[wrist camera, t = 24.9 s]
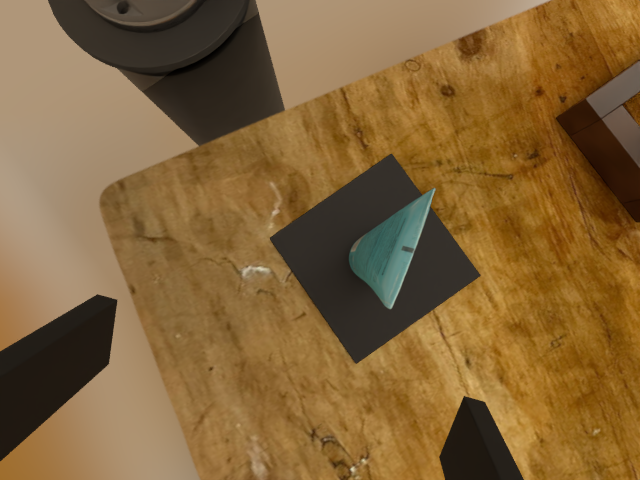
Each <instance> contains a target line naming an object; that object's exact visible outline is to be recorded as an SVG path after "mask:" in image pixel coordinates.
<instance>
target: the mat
mask: <svg viewBox="0 0 640 480" xmlns="http://www.w3.org/2000/svg"><path fill="white" fill-rule="evenodd" d="M421 196H422V194H421V193H420V192H419V190H418V189H417V188H416V186H415V185H414V183H413V182H412V181H411V179H410V178H409V177H408V175H407V174H406V172H405V171H404V170H403V168H402V167H401V166H400V164H399V163H398V161H397V160H396V159H395V157H394V156H393V155H392V154H390V155H389V156H387V157H386V158H384V159H383V160H381V161H380V162H378V163H377V164H376V165H374V166H373V167H371V168H370V169H368V170H367V171H365V172H364V173H363V174H361V175H360V176H358V177H357V178H355V179H354V180H353V181H351V182H350V183H348V184H347V185H345V186H344V187H342V188H341V189H340V190H338V191H337V192H335V193H334V194H332V195H331V196H329V197H328V198H327V199H325V200H324V201H322V202H321V203H319V204H318V205H316V206H315V207H314V208H312V209H311V210H309V211H308V212H306V213H305V214H304V215H302V216H301V217H299V218H298V219H296V220H295V221H293V222H292V223H291V224H289V225H288V226H286V227H285V228H283V229H282V230H280V231H279V232H278V233H276V234H275V235H273V236H272V237H270V240H271V241H272V243H273V244H274V245H275V247H276V248H277V250H278V251H279V253H280V254H281V256H282V257H283V259H284V260H285V261H286V263H287V264H288V266H289V267H290V269H291V270H292V272H293V273H294V275H295V276H296V277H297V279H298V280H299V282H300V283H301V285H302V286H303V288H304V289H305V291H306V292H307V293H308V295H309V296H310V298H311V299H312V301H313V302H314V304H315V305H316V306H317V308H318V309H319V311H320V312H321V314H322V315H323V317H324V318H325V320H326V321H327V322H328V324H329V325H330V327H331V328H332V330H333V331H334V333H335V334H336V336H337V337H338V338H339V340H340V341H341V343H342V344H343V346H344V347H345V349H346V350H347V352H348V353H349V354H350V356H351V357H352V359H353V360H354V362H355V363H356V364H357V363H358V362H359V361H361V360H362V359H364V358H365V357H366V356H368V355H369V354H371V353H372V352H374V351H375V350H376V349H378V348H379V347H381V346H382V345H383V344H385V343H386V342H388V341H389V340H390V339H392V338H393V337H395V336H396V335H398V334H399V333H400V332H402V331H403V330H405V329H406V328H407V327H409V326H410V325H412V324H413V323H414V322H416V321H417V320H419V319H420V318H422V317H423V316H424V315H426V314H427V313H429V312H430V311H431V310H433V309H434V308H436V307H437V306H438V305H440V304H441V303H443V302H444V301H446V300H447V299H448V298H450V297H451V296H453V295H454V294H455V293H457V292H458V291H460V290H461V289H462V288H464V287H465V286H467V285H468V284H470V283H471V282H472V281H474V280H475V279H477V278H478V277H479V276H480V274H479V273H478V271H477V270H476V268H475V267H474V266H473V264H472V263H471V262H470V260H469V259H468V257H467V256H466V255H465V253H464V252H463V251H462V249H461V248H460V247H459V245H458V244H457V242H456V241H455V240H454V238H453V237H452V236H451V234H450V233H449V231H448V230H447V229H446V227H445V226H444V225H443V223H442V222H441V220H440V219H439V218H438V216H437V215H436V214H435V212H434V211H433V209H432V208H431V207H430V209H429V212H428V215H427V218H426V221H425V224H424V227H423V229H422V232H421V236H420V238H419V241H418V244H417V246H416V249H415V251H414V254H413V257H412V260H411V262H410V265H409V267H408V270H407V273H406V275H405V278H404V280H403V283H402V286H401V288H400V291H399V293H398V295H397V297H396V300H395V302H394V305H393V307H392V308H391V309H389V308H387V307H385V306H384V304H383V303H382V301H381V300H380V298H379V297H378V296H377V294H376V293H375V292H374V290H373V289H372V288H371V287H370V286H369V285H368V284H367V283H366V282H365V281H364V280H362V279H361V278H359V277H358V276H357V275H356V274H355V273H354V272H353V270H352V269H351V266H350V262H349V254H350V250H351V248H352V246H353V244H354V243H355V242H356V241H357V240H358V239H360V238H361V237H362V236H364V235H365V234H367V233H368V232H370V231H371V230H373V229H374V228H375V227H377V226H378V225H380V224H381V223H383V222H384V221H385V220H387V219H388V218H390V217H391V216H393V215H394V214H395V213H397V212H398V211H400V210H401V209H403V208H404V207H406V206H407V205H409V204H410V203H411V202H413V201H414V200H416V199H418V198H419V197H421Z"/></svg>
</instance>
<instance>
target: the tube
mask: <svg viewBox="0 0 640 480" xmlns="http://www.w3.org/2000/svg"><path fill="white" fill-rule="evenodd" d="M434 192H435V188H433V189H432V190H430V191H428V192H427V193H425V194H424V195H422V196H421V197H419V198H418V199H416V200H414V201H413V202H411V203H410V204H409V205H407V206H406V207H404V208H403V209H401V210H400V211H398V212H397V213H395V214H394V215H393V216H391V217H390V218H388V219H387V220H385V221H384V222H383V223H381V224H380V225H378V226H377V227H375V228H374V229H373V230H371V231H370V232H368V233H367V234H365V235H364V236H362V237H361V238H360V239H358V240H357V241H356V242H355V243H354V244H353V246H352V248H351V250H350V254H349V262H350V266H351V269H352V270H353V272H354V273H355V274H356V275H357V276H358V277H359V278H361V279H362V280H364V281H365V282H366V283H367V284H368V285H369V286H370V287H371V288H372V289H373V290H374V292H375V293H376V294H377V296H378V297H379V298H380V300H381V301H382V303H383V304H384V306H385V307H387V308H389V309H391V308H392V307H393V305H394V302H395V300H396V297H397V295H398V293H399V291H400V288H401V286H402V283H403V280H404V278H405V275H406V273H407V270H408V267H409V265H410V262H411V260H412V257H413V254H414V251H415V249H416V246H417V244H418V241H419V238H420V236H421V232H422V229H423V227H424V224H425V221H426V218H427V215H428V212H429V209H430V205H431V201H432V196H433V194H434Z"/></svg>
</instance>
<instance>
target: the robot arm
mask: <svg viewBox="0 0 640 480" xmlns="http://www.w3.org/2000/svg"><path fill="white" fill-rule="evenodd" d="M85 1H86V3H87V4H88V5H89V6H90V7H91V8H92V9H93V10H94V11H95V12H96V13H97V14H98V15H99V16H100V17H101V18H102V19H104V20H105V21H106V22H108V23H110V24H111V25H113V26H115V27H118V28H120V29H123V30H127V31H131V32H139V33H149V32H157V31H162V30H166V29H169V28H171V27H174V26H176V25H178V24H180V23H182V22H183V21H185V20H186V19H188V18H189V17H190V16H192V15H193V14H194V13H195V12H196V11H197V10H198V9H199V8H200V7H201V6H202V4H203V3H204V2H205V0H85ZM116 306H117V300H116V299H112V298H109V297H105V296H101V295H96V296H94V297H92V298H91V299H89V300H87V301H85V302H84V303H82V304H81V305H79V306H77V307H75V308H74V309H72V310H70V311H68V312H67V313H65V314H63V315H62V316H60V317H58V318H57V319H55V320H53V321H51V322H50V323H48V324H46V325H45V326H43V327H41V328H40V329H38V330H36V331H34V332H33V333H31V334H29V335H27V336H26V337H24V338H22V339H21V340H19V341H17V342H16V343H14V344H12V345H10V346H9V347H7V348H5V349H4V350H2V351H0V461H1V460H2V459H3V458H5V457H6V456H7V455H8V454H9V453H10V452H11V451H12V450H13V449H14V448H16V447H17V446H18V445H19V444H20V443H21V442H22V441H24V440H25V439H26V438H27V437H28V436H29V435H30V434H31V433H32V432H34V431H35V430H36V429H37V428H38V427H39V426H40V425H41V424H42V423H44V422H45V421H46V420H47V419H48V418H49V417H50V416H51V415H52V414H54V413H55V412H56V411H57V410H58V409H59V408H60V407H61V406H63V405H64V404H65V403H66V402H67V401H68V400H69V399H70V398H72V397H73V396H74V395H75V394H76V393H77V392H78V391H79V390H80V389H81V388H83V387H84V386H85V385H86V384H87V383H88V382H89V381H91V380H92V379H93V378H94V377H95V376H96V375H97V374H98V373H99V372H101V371H102V370H103V369H104V368H105V367H106V366H107V365H108V364H109V359H110V351H111V343H112V336H113V328H114V321H115V313H116ZM439 458H440V461H441V465H442V469H443V473H444V476H445V480H524V479H523V477H522V475H521V473H520V471H519V469H518V467H517V465H516V463H515V461H514V459H513V457H512V455H511V453H510V451H509V449H508V447H507V445H506V443H505V441H504V439H503V437H502V435H501V433H500V431H499V429H498V427H497V425H496V423H495V421H494V419H493V417H492V415H491V413H490V411H489V409H488V407H487V406H486V404H485V402H483V401H480V400H476V399H472V398H469V397H465V396H464V398H463V400H462V402H461V405H460V407H459V410H458V412H457V415H456V417H455V420H454V422H453V425H452V427H451V430H450V432H449V435H448V437H447V439H446V442H445V444H444V447H443V449H442V452H441V454H440V457H439Z"/></svg>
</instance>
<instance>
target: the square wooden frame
mask: <svg viewBox="0 0 640 480" xmlns="http://www.w3.org/2000/svg"><path fill="white" fill-rule="evenodd" d="M639 92H640V59H639V60H638V61H636V62H635V63H633V64H632V65H631V66H629V67H628V68H626V69H625V70H623V71H622V72H621V73H619V74H618V75H616V76H615V77H613V78H612V79H611V80H609V81H608V82H606V83H605V84H603V85H602V86H601V87H599V88H598V89H596V90H595V91H593V92H592V93H591V94H589V95H588V96H586V97H585V98H583V99H582V100H581V101H579V102H578V103H576V104H575V105H573V106H572V107H571V108H569V109H568V110H566V111H565V112H563V113H562V114H561V115H559V116H558V117H556V119H557V120H558V121H559V123H560V124H561V125H562V126H563V128H564V129H565V130H566V132H567V133H568V134H569V136H570V137H571V138H572V139H573V141H574V142H575V143H576V145H577V146H578V147H579V149H580V150H581V151H582V152H583V154H584V155H585V156H586V158H587V159H588V160H589V161H590V163H591V164H592V165H593V167H594V168H595V169H596V171H597V172H598V173H599V174H600V176H601V177H602V178H603V180H604V181H605V182H606V183H607V185H608V186H609V187H610V189H611V190H612V191H613V193H614V194H615V195H616V196H617V198H618V199H619V200H620V202H621V203H622V204H623V205H624V207H625V208H626V209H627V211H628V212H629V213H630V214H631V216H632V217H633V218H634V220H635V221H636V222H640V127H639V126H638V124H637V123H636V122H635V121H634V119H633V118H632V117H631V115H630V114H629V113H628V112H627V110H626V109H625V108H624V107H623V105H622V104H623V103H625V102H626V101H627V100H629V99H630V98H632V97H633V96H635V95H636V94H637V93H639Z"/></svg>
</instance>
